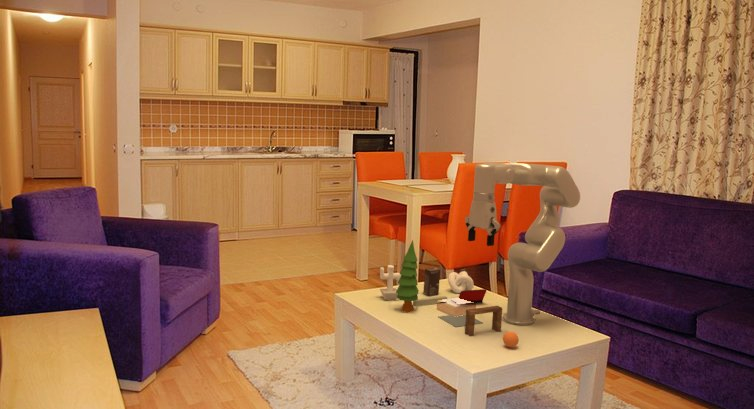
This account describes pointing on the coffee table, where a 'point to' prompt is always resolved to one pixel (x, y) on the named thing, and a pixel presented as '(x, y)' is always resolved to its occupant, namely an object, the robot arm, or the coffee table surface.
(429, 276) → the box
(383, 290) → the figurine
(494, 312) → the bridge
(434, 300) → the wall
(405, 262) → the decorative tree
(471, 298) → the handheld game console
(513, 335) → the ball
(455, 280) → the decorative knot
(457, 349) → the coffee table surface
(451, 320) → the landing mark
